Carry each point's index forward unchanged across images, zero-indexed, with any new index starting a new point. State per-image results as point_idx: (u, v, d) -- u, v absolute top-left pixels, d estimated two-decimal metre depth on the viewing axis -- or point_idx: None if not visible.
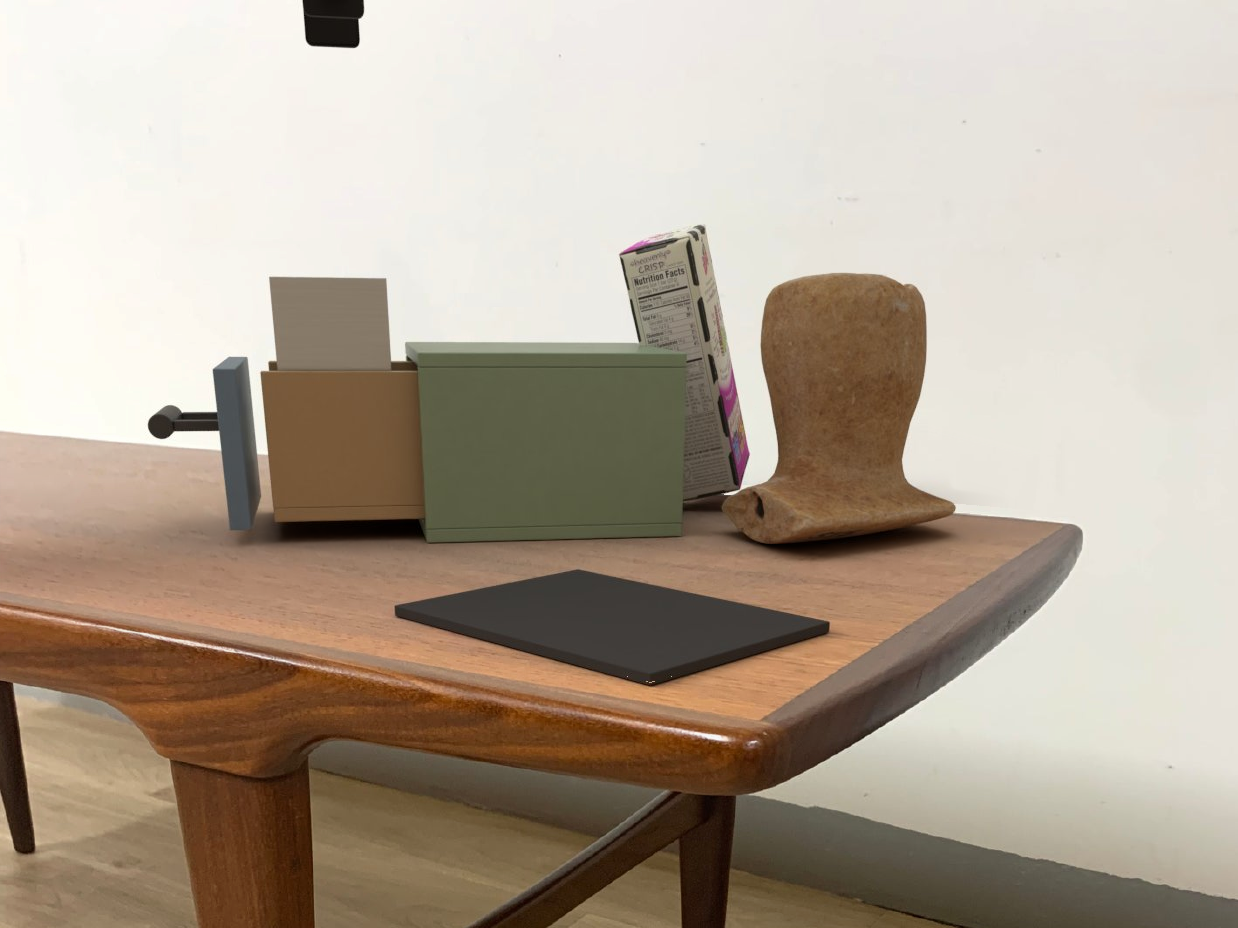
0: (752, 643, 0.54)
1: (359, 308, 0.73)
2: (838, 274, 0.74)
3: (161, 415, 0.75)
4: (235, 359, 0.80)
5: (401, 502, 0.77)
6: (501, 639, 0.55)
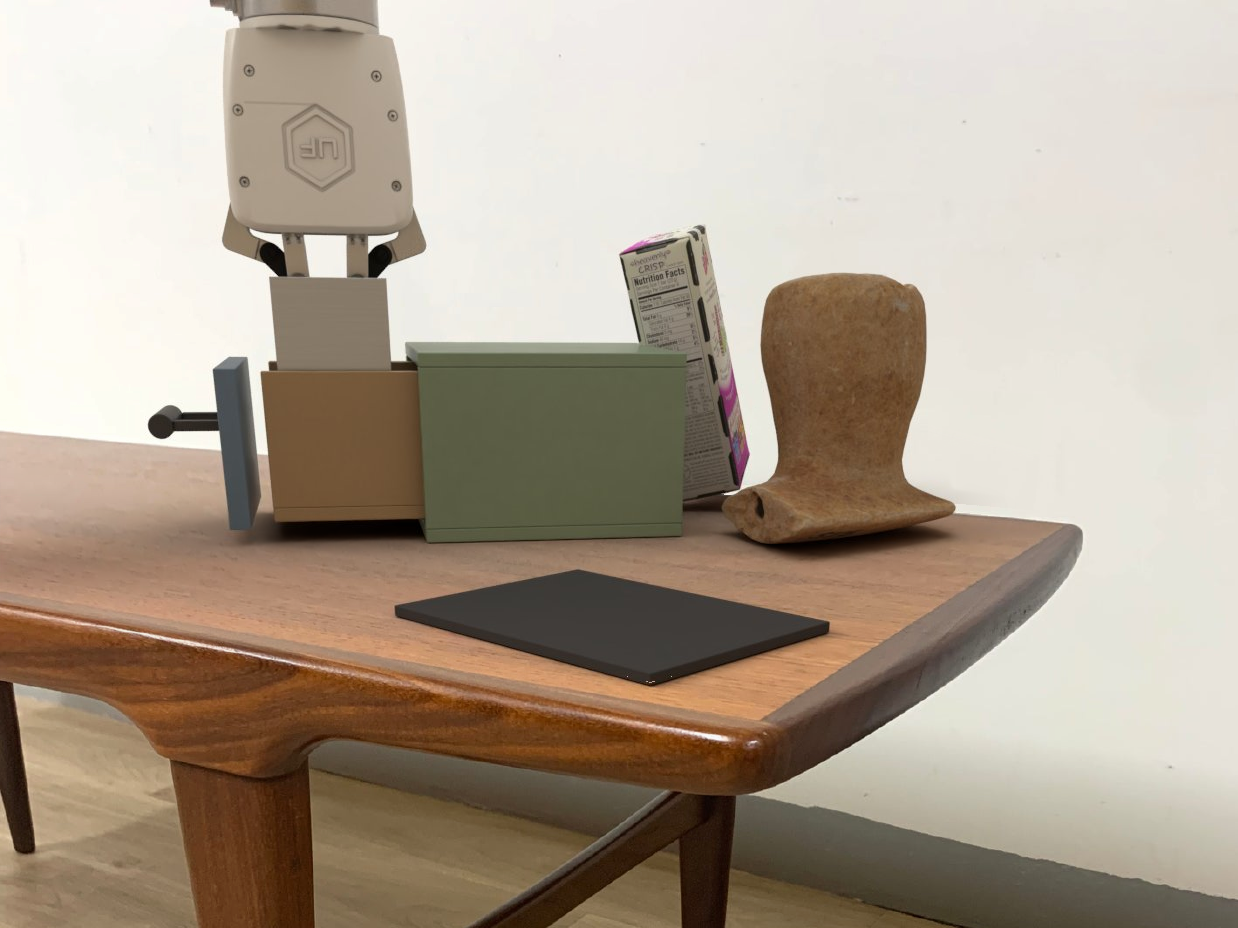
0: (752, 643, 0.54)
1: (359, 308, 0.73)
2: (837, 274, 0.74)
3: (161, 415, 0.75)
4: (235, 359, 0.80)
5: (401, 502, 0.77)
6: (501, 639, 0.55)
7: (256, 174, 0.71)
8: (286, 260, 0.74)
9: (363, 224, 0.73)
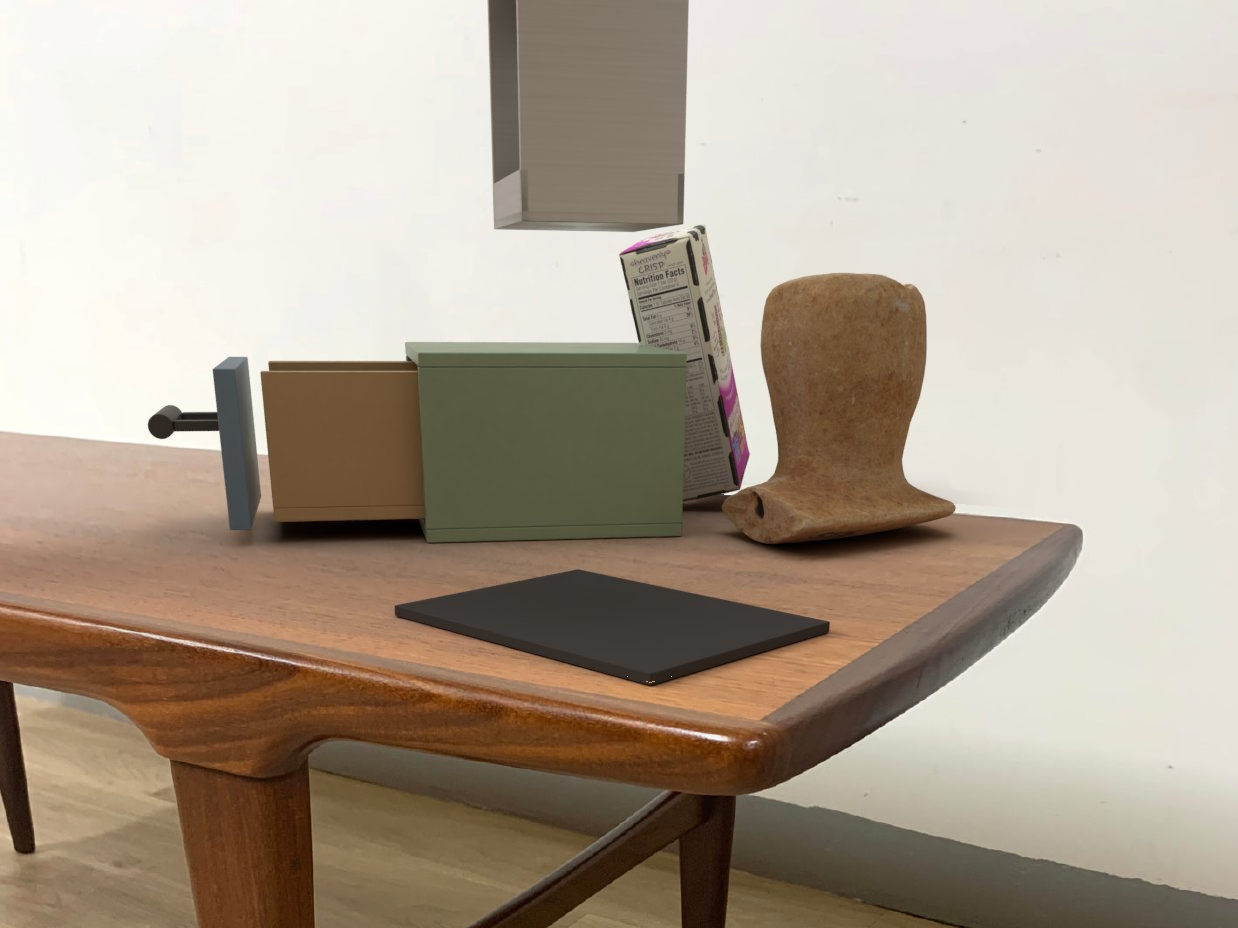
0: (752, 643, 0.54)
1: None
2: (838, 274, 0.74)
3: (161, 415, 0.75)
4: (235, 359, 0.80)
5: (401, 502, 0.77)
6: (501, 639, 0.55)
7: None
8: None
9: None
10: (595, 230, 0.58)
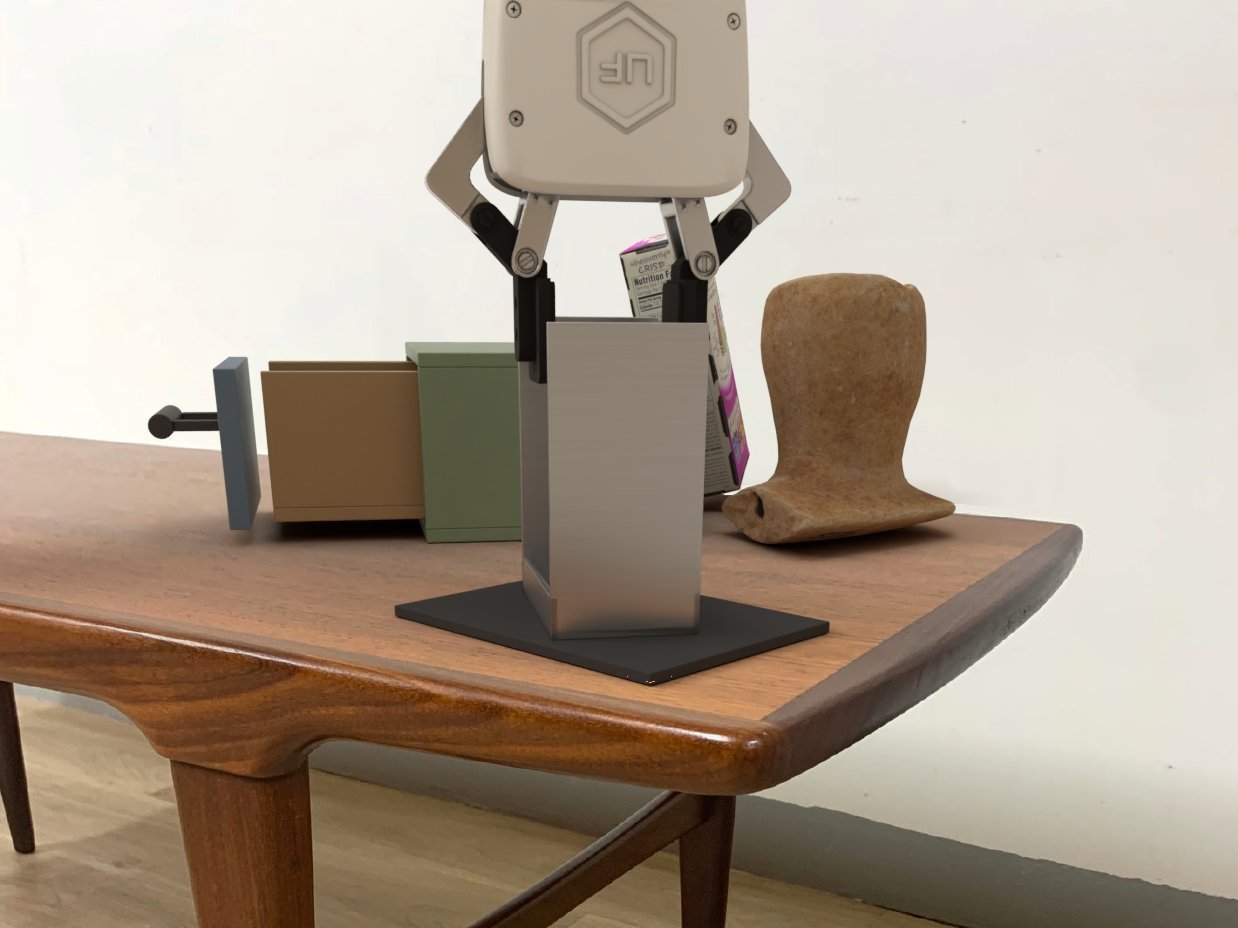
0: (752, 643, 0.54)
1: (669, 366, 0.51)
2: (838, 274, 0.74)
3: (161, 415, 0.75)
4: (235, 359, 0.80)
5: (401, 502, 0.77)
6: (501, 639, 0.55)
7: (534, 107, 0.48)
8: (522, 224, 0.51)
9: (678, 182, 0.50)
10: None
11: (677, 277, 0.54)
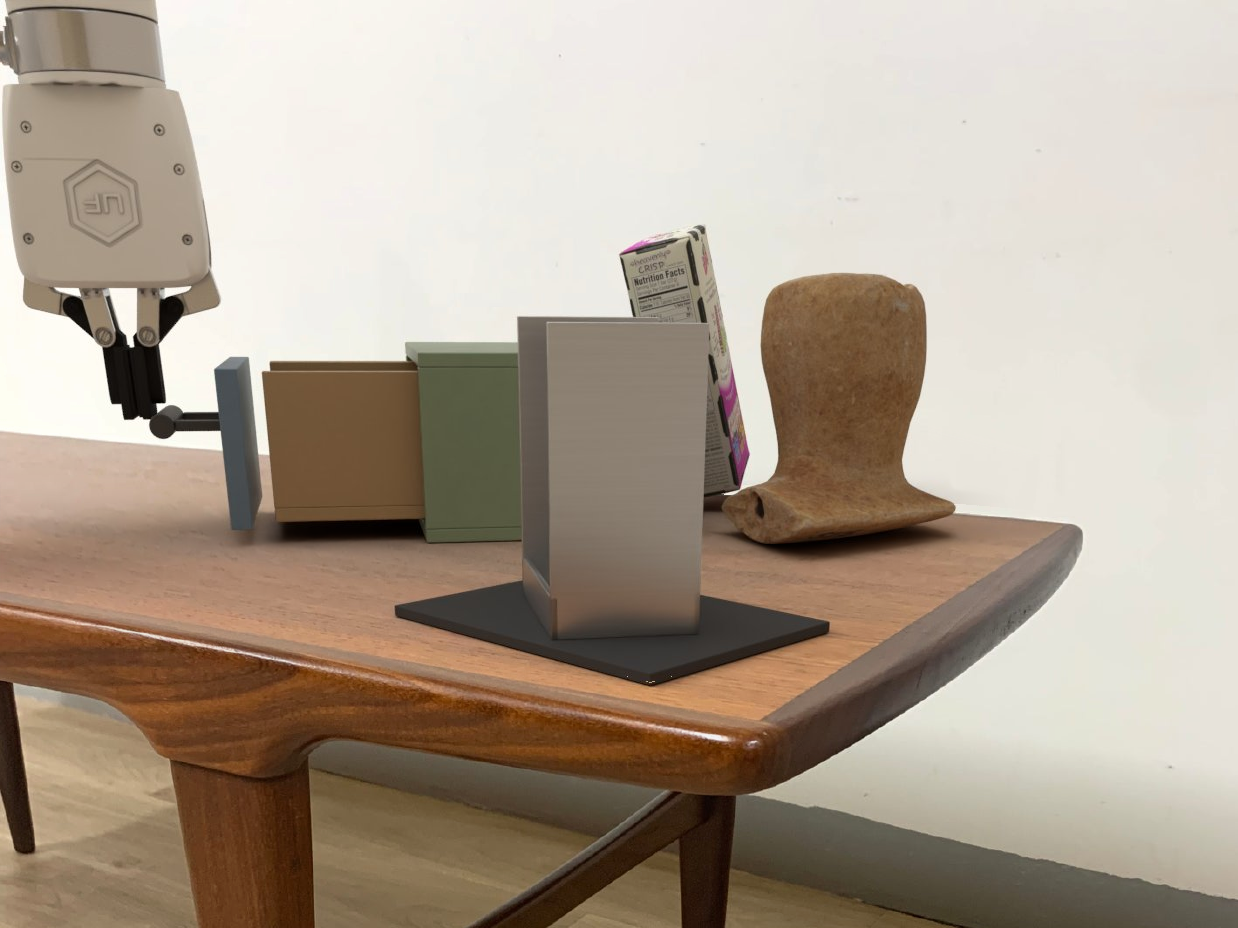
0: (752, 643, 0.54)
1: (669, 366, 0.51)
2: (838, 274, 0.74)
3: (162, 415, 0.75)
4: (236, 359, 0.80)
5: (402, 502, 0.77)
6: (501, 639, 0.55)
7: (40, 231, 0.70)
8: (88, 315, 0.73)
9: (155, 278, 0.72)
10: None
11: None
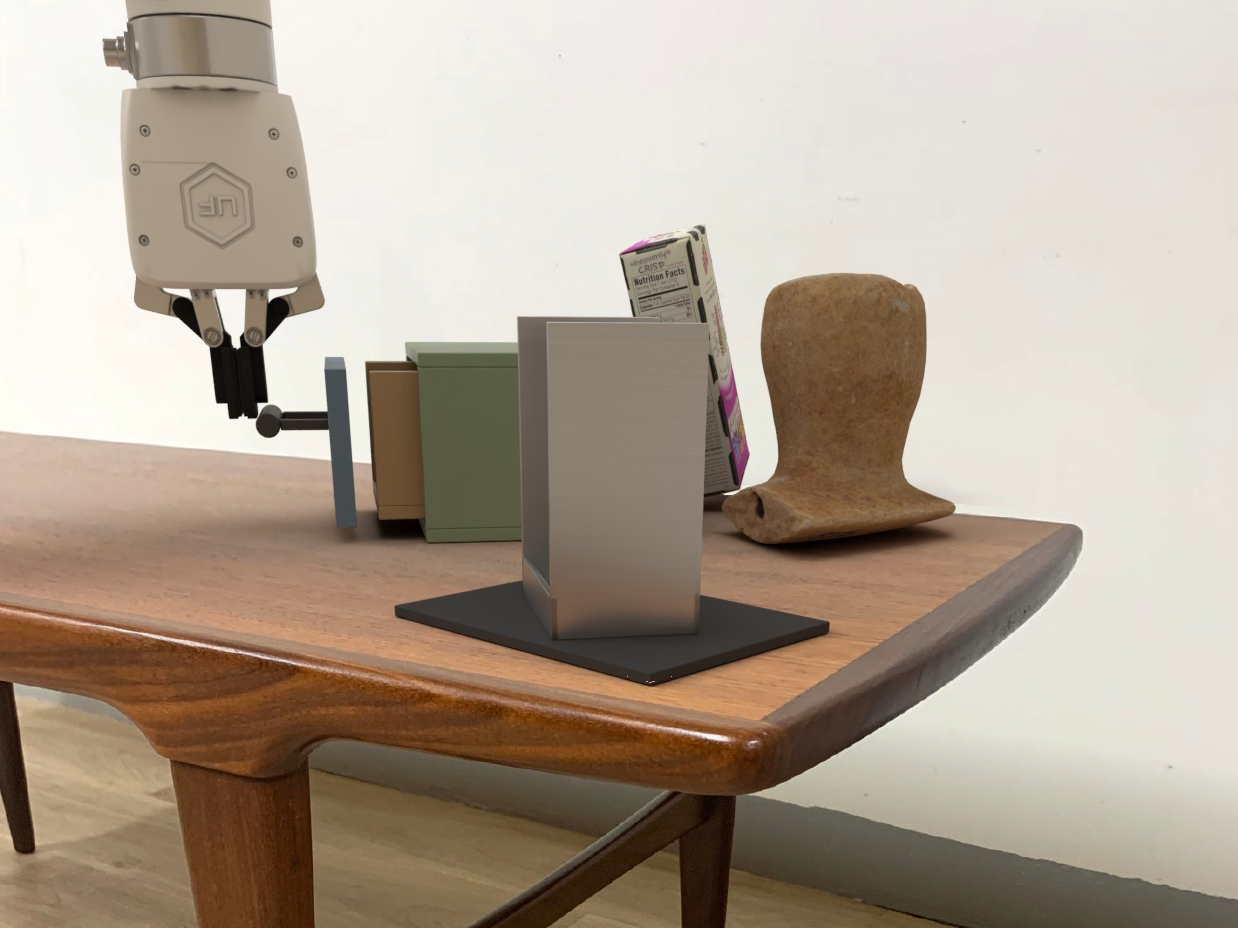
0: (752, 643, 0.54)
1: (669, 366, 0.51)
2: (838, 274, 0.74)
3: (269, 414, 0.76)
4: (335, 359, 0.81)
5: None
6: (501, 639, 0.55)
7: (155, 232, 0.71)
8: (197, 316, 0.74)
9: (265, 279, 0.73)
10: None
11: None
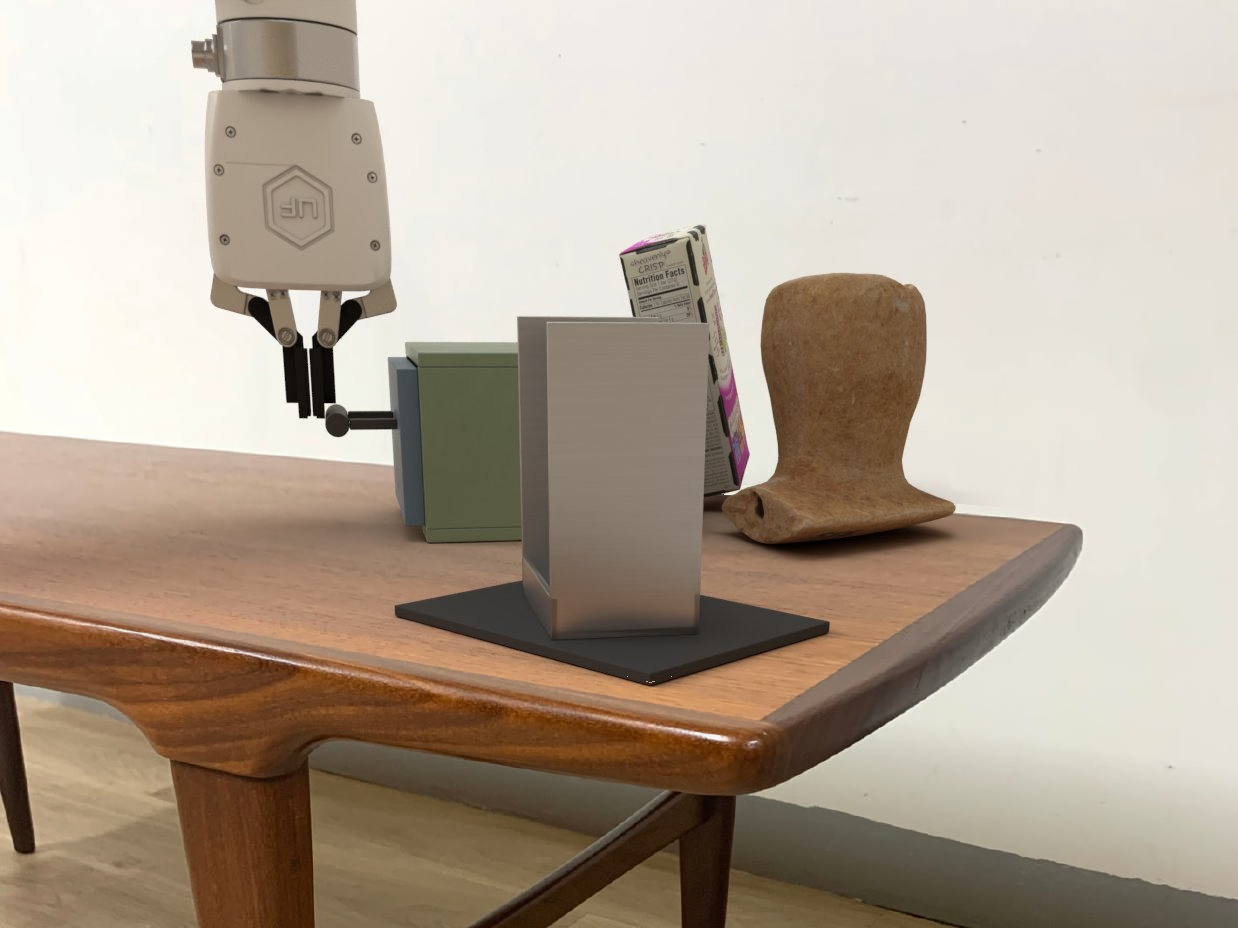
0: (752, 643, 0.54)
1: (669, 366, 0.51)
2: (838, 274, 0.74)
3: (338, 414, 0.77)
4: (400, 359, 0.82)
5: None
6: (501, 639, 0.55)
7: (236, 232, 0.72)
8: (272, 316, 0.75)
9: (341, 281, 0.74)
10: None
11: None
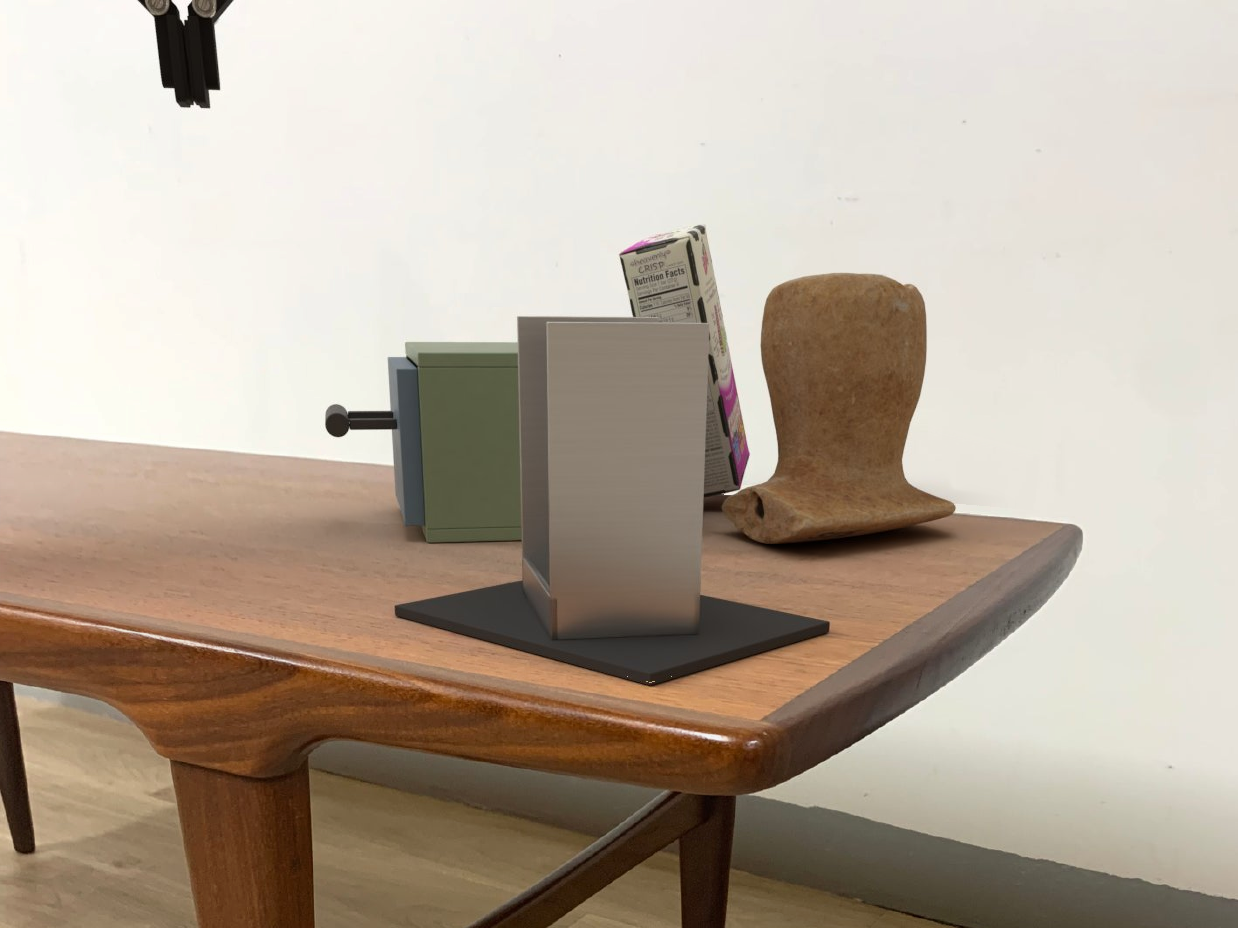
0: (752, 643, 0.54)
1: (669, 366, 0.51)
2: (838, 274, 0.74)
3: (338, 414, 0.77)
4: (400, 359, 0.82)
5: None
6: (501, 639, 0.55)
7: None
8: None
9: None
10: None
11: None
